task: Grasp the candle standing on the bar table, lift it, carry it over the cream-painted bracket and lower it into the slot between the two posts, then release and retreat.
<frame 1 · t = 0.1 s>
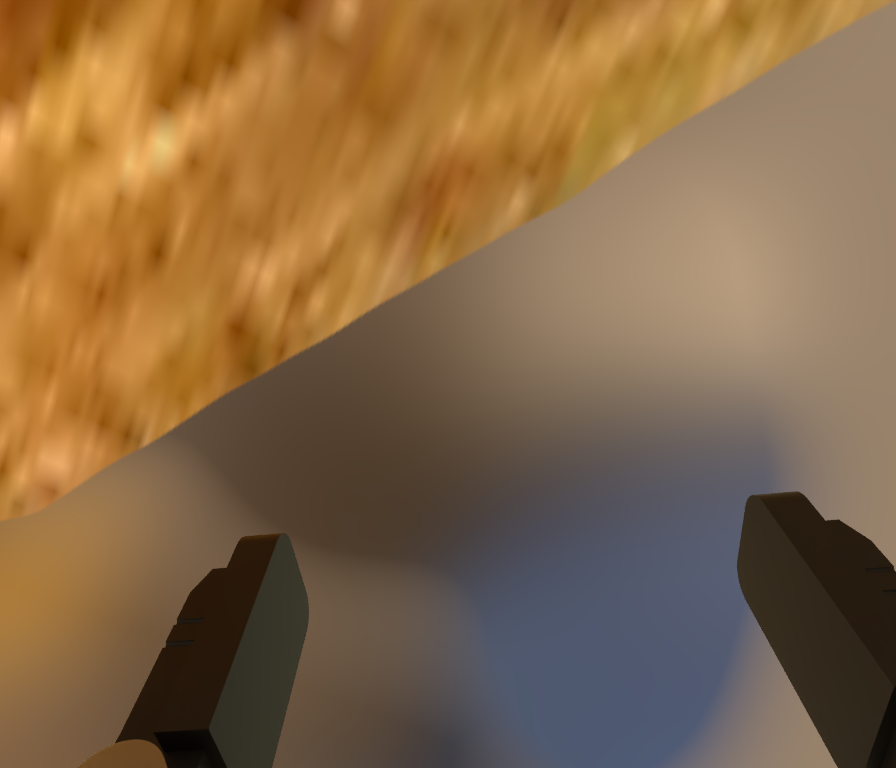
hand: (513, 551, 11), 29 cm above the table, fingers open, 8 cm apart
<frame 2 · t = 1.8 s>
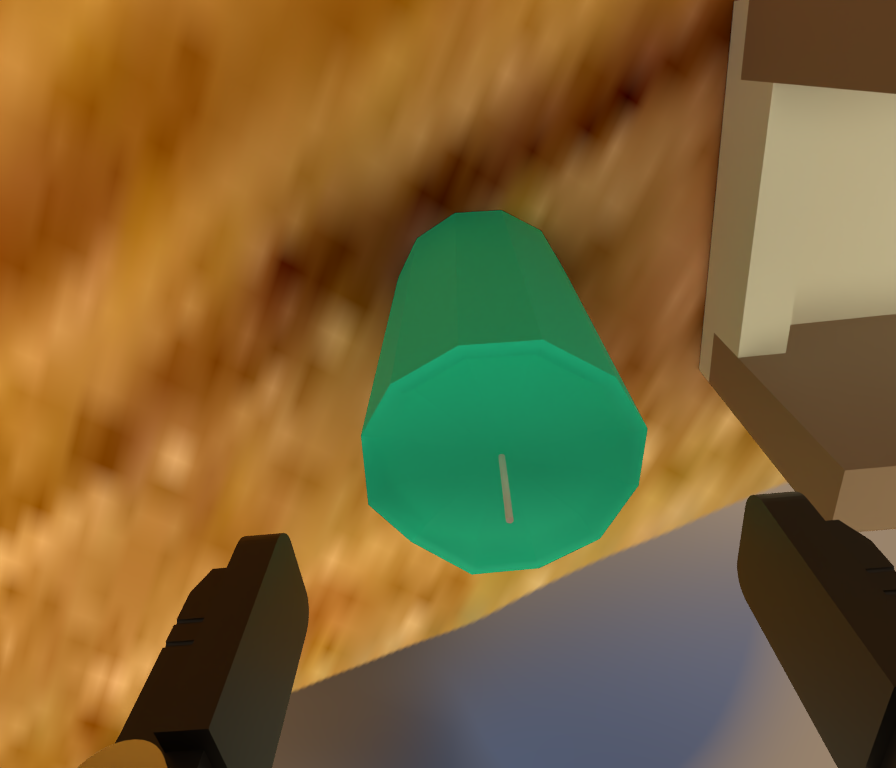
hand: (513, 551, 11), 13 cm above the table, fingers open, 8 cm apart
candle: (480, 291, 22), on the table
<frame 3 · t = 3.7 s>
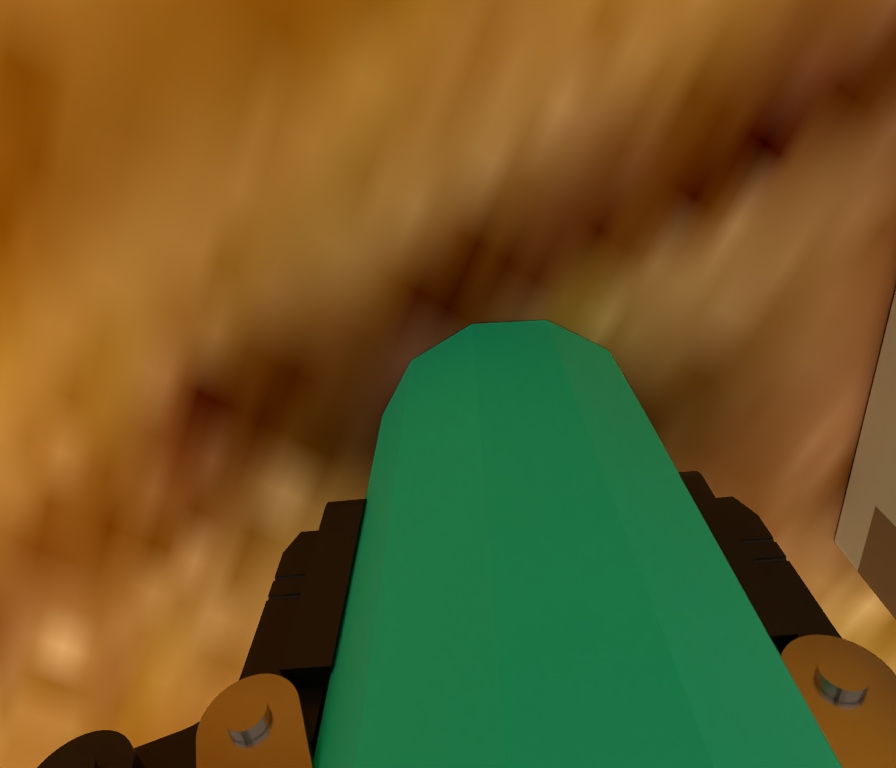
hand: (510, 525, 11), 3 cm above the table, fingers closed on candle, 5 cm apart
candle: (509, 434, 14), on the table, touching gripper
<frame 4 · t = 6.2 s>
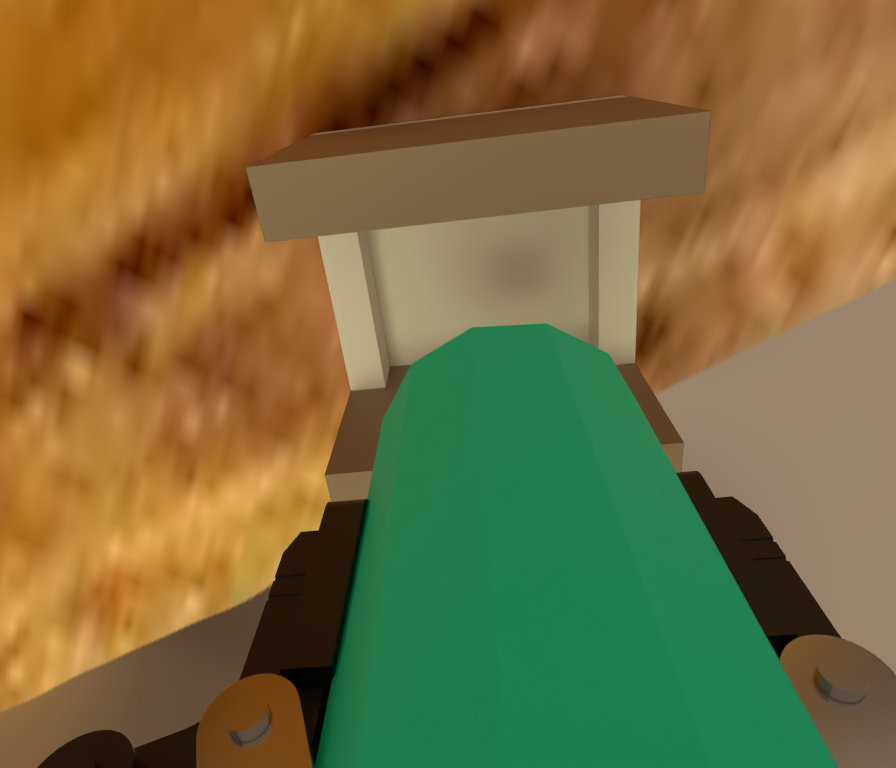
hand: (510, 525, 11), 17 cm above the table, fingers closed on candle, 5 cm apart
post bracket: (479, 264, 26), on the table
candle: (510, 436, 14), point 14 cm above the table, touching gripper
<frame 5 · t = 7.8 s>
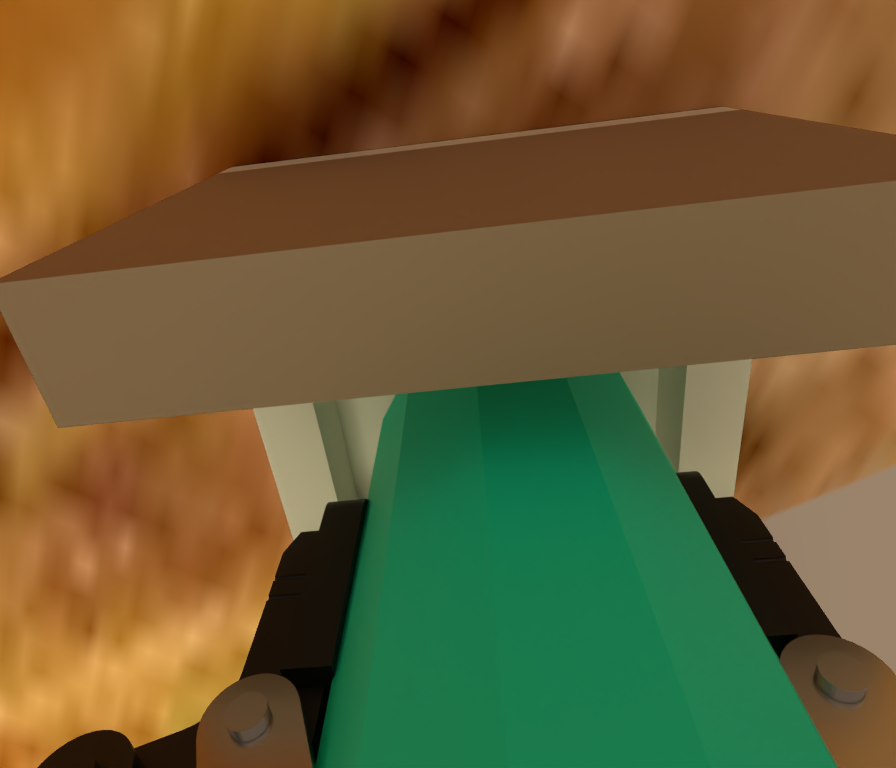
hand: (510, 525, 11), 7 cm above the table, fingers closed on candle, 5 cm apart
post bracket: (491, 358, 18), on the table
candle: (510, 437, 14), point 4 cm above the table, touching gripper
when the fingers open (6 cm above the table, at t = 9.0 s): candle drops 2 cm, resting on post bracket.
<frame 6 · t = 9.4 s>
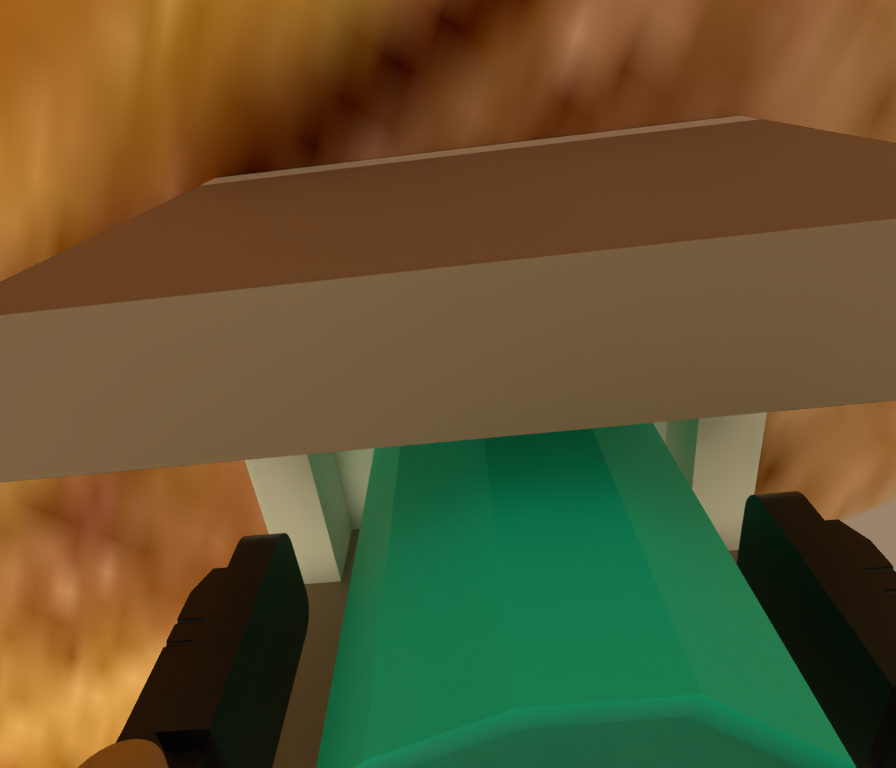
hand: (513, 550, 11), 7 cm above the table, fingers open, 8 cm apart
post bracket: (491, 379, 17), on the table
candle: (502, 392, 16), point 1 cm above the table, touching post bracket
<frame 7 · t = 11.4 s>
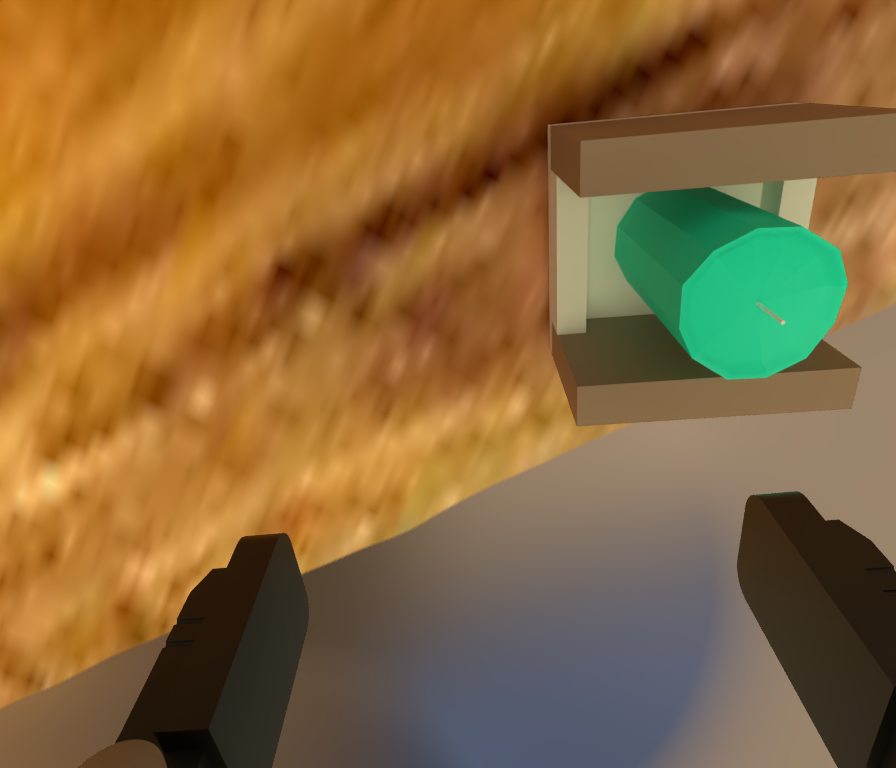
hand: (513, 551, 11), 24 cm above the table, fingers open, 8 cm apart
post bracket: (661, 236, 32), on the table
candle: (670, 238, 32), point 1 cm above the table, touching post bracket
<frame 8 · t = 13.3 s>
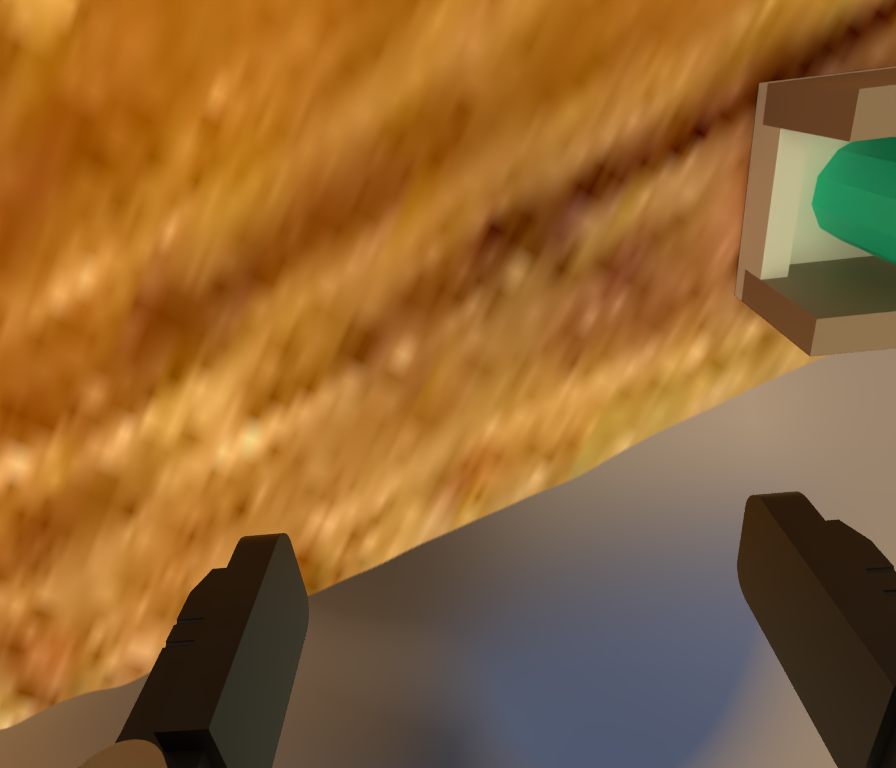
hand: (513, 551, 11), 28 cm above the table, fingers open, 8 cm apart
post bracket: (852, 185, 35), on the table
candle: (864, 187, 34), point 1 cm above the table, touching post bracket
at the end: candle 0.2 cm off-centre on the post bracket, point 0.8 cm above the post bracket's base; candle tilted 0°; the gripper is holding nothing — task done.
